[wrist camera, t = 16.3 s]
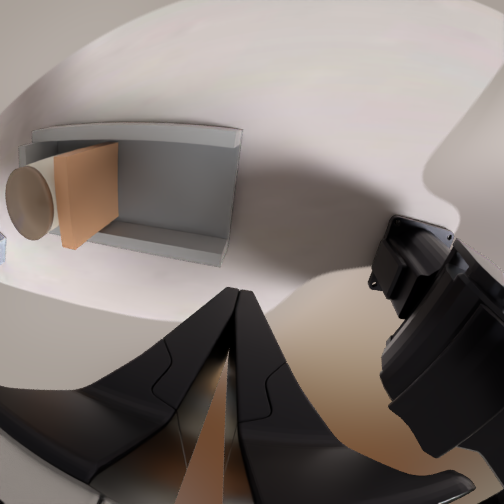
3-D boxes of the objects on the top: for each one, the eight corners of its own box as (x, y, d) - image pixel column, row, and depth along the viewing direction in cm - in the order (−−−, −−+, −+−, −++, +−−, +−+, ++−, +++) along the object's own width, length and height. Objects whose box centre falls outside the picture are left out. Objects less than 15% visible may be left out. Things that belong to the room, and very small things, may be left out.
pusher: (118, 142, 18) (66, 156, 12) (118, 216, 20) (75, 249, 15) (105, 142, 18) (53, 156, 12) (106, 214, 20) (62, 246, 15)
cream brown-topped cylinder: (62, 148, 18) (2, 168, 12) (106, 147, 18) (43, 167, 12) (65, 202, 20) (11, 235, 14) (107, 207, 20) (53, 245, 14)
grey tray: (243, 129, 17) (231, 132, 13) (227, 247, 22) (215, 280, 18) (54, 126, 18) (18, 134, 14) (59, 218, 22) (28, 239, 18)
